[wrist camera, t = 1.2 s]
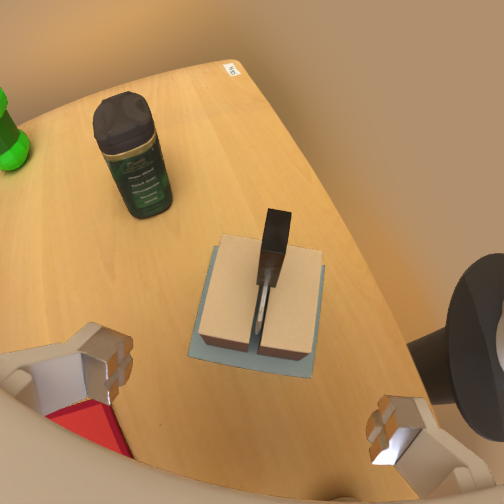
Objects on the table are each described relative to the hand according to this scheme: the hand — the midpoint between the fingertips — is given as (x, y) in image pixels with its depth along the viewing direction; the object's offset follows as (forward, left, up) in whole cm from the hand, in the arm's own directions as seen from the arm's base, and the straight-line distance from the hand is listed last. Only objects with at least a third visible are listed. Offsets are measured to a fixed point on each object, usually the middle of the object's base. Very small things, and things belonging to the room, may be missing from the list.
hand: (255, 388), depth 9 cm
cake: (-4, -11, -32) cm, 34 cm away
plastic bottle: (+42, -51, -32) cm, 73 cm away
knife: (-4, -11, -23) cm, 26 cm away
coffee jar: (+10, -33, -32) cm, 47 cm away
